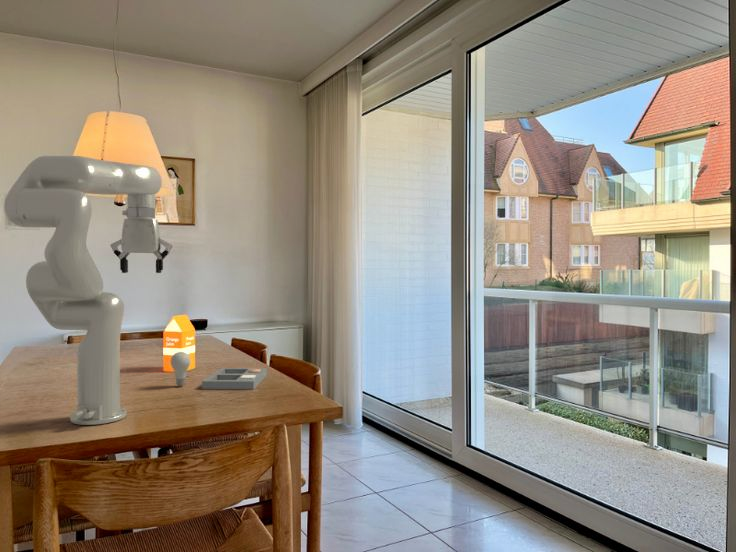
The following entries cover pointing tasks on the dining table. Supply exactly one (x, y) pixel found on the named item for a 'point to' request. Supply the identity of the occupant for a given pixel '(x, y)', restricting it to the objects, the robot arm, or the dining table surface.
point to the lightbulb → (180, 366)
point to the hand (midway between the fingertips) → (141, 272)
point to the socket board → (235, 378)
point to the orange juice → (178, 341)
